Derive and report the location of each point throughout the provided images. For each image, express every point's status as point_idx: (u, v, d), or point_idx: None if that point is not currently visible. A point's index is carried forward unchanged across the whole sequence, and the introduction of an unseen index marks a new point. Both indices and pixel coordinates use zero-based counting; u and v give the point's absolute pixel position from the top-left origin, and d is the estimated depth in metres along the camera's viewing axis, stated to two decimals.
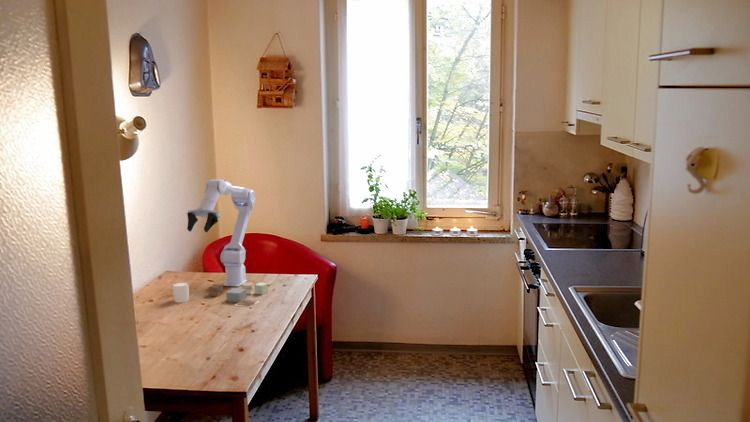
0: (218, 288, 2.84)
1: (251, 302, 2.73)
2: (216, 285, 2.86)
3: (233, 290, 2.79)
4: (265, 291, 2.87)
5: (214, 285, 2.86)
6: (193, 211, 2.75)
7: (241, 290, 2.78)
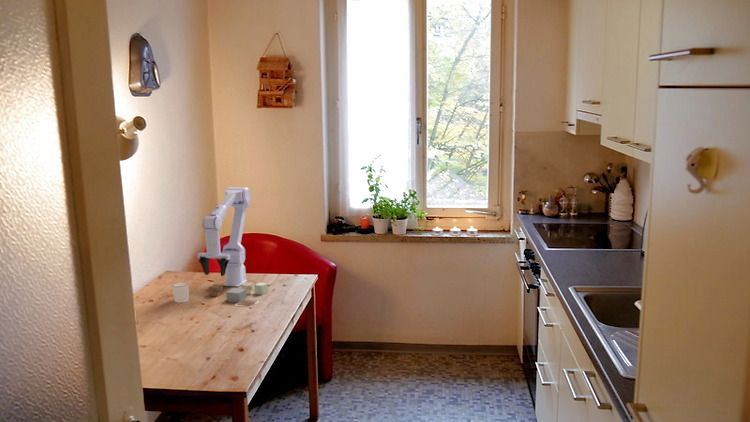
0: (218, 288, 2.84)
1: (251, 302, 2.73)
2: (216, 285, 2.86)
3: (233, 290, 2.79)
4: (265, 291, 2.87)
5: (214, 285, 2.86)
6: (203, 256, 2.83)
7: (241, 290, 2.78)
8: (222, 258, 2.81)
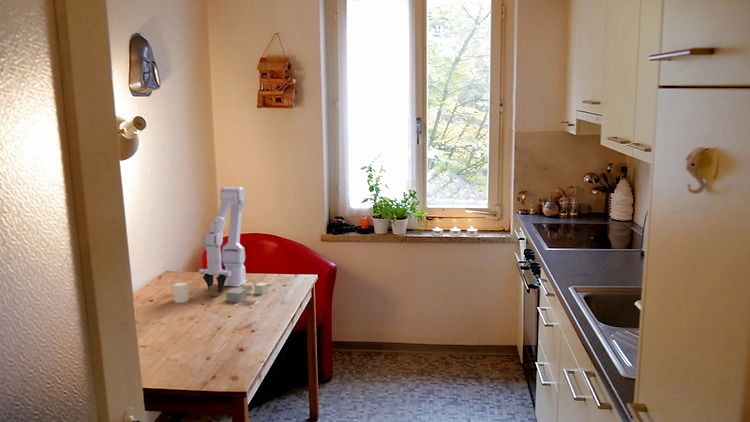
0: None
1: (251, 302, 2.73)
2: (216, 285, 2.86)
3: (233, 290, 2.79)
4: (265, 291, 2.87)
5: (214, 285, 2.86)
6: (204, 272, 2.84)
7: (241, 290, 2.78)
8: (223, 275, 2.83)
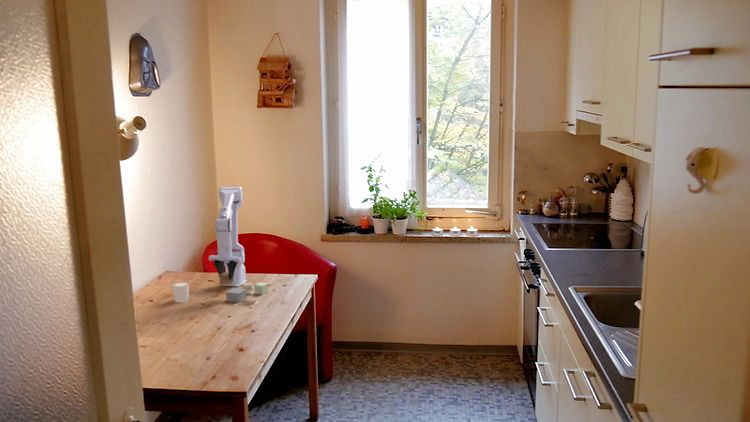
0: (228, 276, 2.78)
1: (251, 302, 2.73)
2: (226, 273, 2.80)
3: (233, 290, 2.79)
4: (265, 291, 2.87)
5: (224, 273, 2.80)
6: (214, 258, 2.79)
7: (241, 290, 2.78)
8: (234, 261, 2.77)
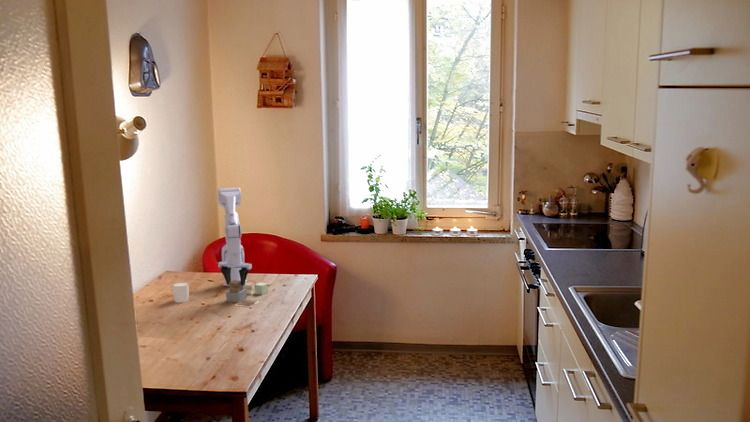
0: (238, 284, 2.76)
1: (251, 302, 2.73)
2: (236, 281, 2.78)
3: None
4: (265, 291, 2.87)
5: (234, 281, 2.78)
6: (223, 265, 2.76)
7: None
8: (243, 267, 2.75)
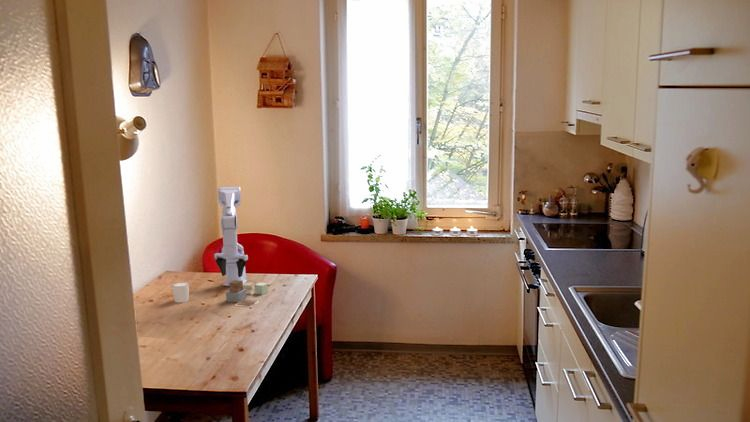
0: (238, 284, 2.76)
1: (251, 302, 2.73)
2: (236, 281, 2.78)
3: None
4: (265, 291, 2.87)
5: (234, 281, 2.78)
6: (220, 256, 2.77)
7: None
8: (240, 259, 2.75)
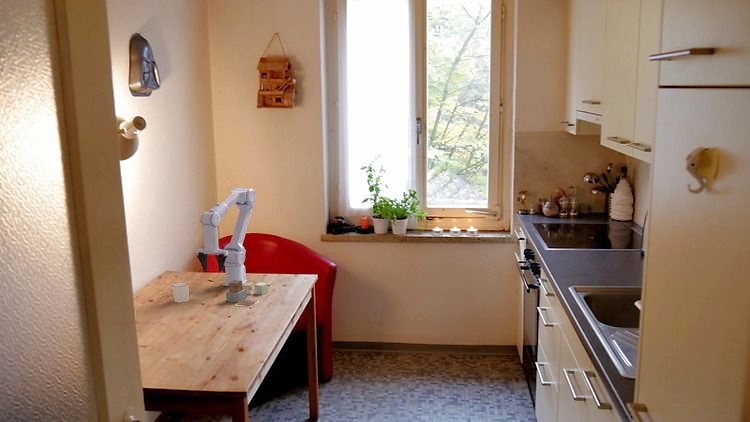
0: (238, 284, 2.76)
1: (251, 302, 2.73)
2: (236, 281, 2.78)
3: None
4: (265, 291, 2.87)
5: (234, 281, 2.78)
6: (201, 251, 2.85)
7: None
8: (220, 254, 2.84)
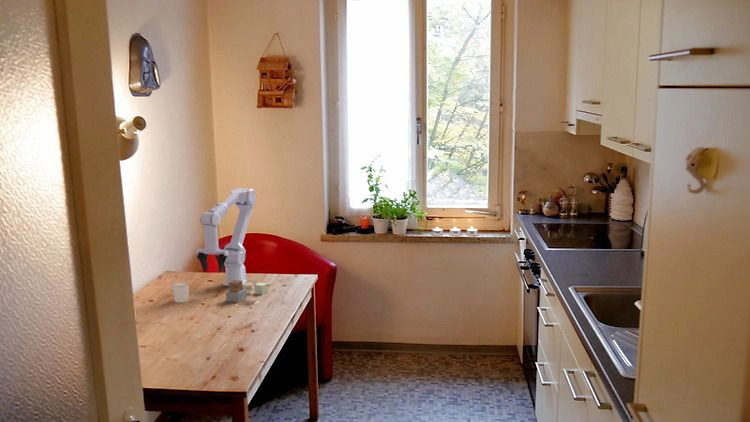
0: (238, 284, 2.76)
1: (251, 302, 2.73)
2: (236, 281, 2.78)
3: None
4: (265, 291, 2.87)
5: (234, 281, 2.78)
6: (201, 251, 2.85)
7: None
8: (220, 254, 2.84)
